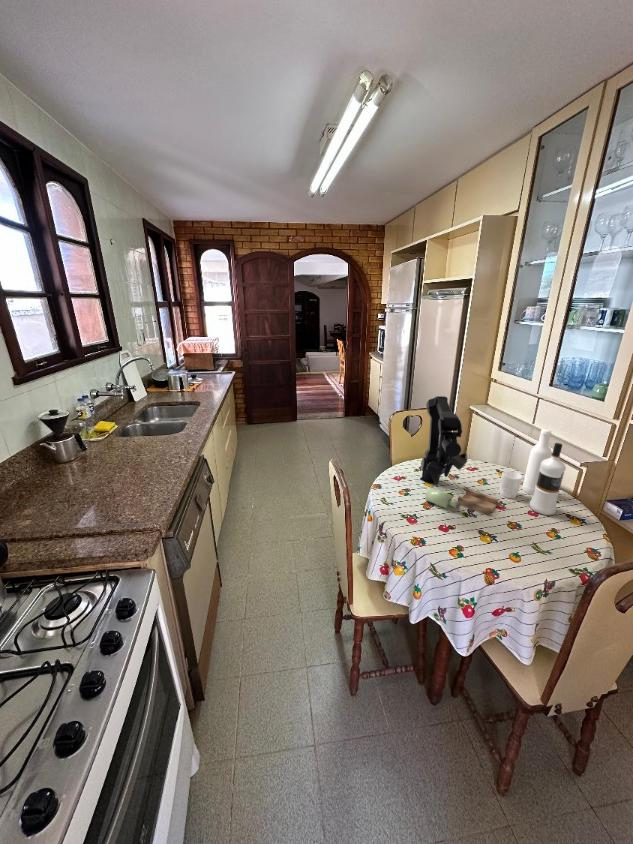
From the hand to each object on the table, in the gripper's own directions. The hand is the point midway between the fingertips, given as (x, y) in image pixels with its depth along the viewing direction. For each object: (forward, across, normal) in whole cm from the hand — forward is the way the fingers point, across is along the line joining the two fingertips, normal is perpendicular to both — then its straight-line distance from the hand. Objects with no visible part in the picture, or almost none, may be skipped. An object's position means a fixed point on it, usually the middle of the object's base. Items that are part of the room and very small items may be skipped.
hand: (441, 480), depth 145 cm
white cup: (+12, +29, -20) cm, 37 cm away
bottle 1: (+11, 0, -2) cm, 12 cm away
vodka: (+12, +26, -34) cm, 44 cm away
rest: (+11, +11, -12) cm, 20 cm away
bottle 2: (+12, +40, -27) cm, 49 cm away
